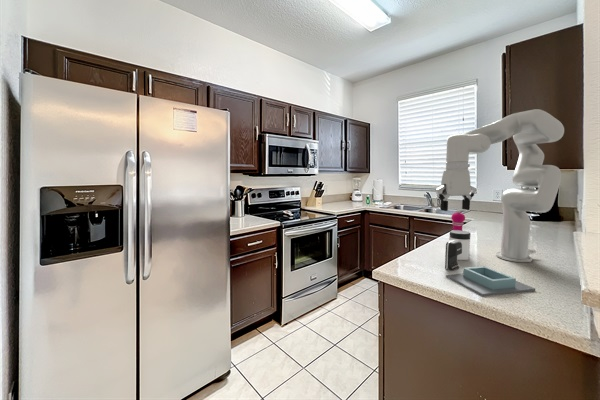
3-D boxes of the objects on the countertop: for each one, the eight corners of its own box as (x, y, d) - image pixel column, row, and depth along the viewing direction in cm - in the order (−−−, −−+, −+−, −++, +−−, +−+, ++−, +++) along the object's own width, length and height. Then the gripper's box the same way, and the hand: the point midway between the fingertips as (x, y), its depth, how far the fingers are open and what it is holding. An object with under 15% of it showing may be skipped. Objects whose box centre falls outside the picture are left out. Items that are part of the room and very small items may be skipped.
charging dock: (491, 272, 101) (492, 263, 101) (535, 290, 86) (536, 279, 85) (446, 276, 98) (446, 267, 98) (482, 296, 82) (483, 284, 82)
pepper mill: (459, 250, 131) (461, 211, 129) (445, 247, 138) (447, 209, 136) (467, 248, 135) (470, 210, 133) (454, 245, 141) (455, 208, 139)
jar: (443, 255, 123) (444, 230, 122) (455, 253, 126) (456, 229, 125) (462, 261, 115) (463, 234, 114) (474, 259, 118) (475, 233, 117)
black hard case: (454, 272, 103) (455, 243, 102) (444, 269, 106) (445, 241, 105) (462, 268, 107) (463, 240, 106) (452, 265, 110) (453, 239, 109)
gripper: (468, 166, 108) (466, 208, 109) (430, 167, 105) (429, 209, 107) (484, 166, 100) (481, 210, 102) (443, 167, 97) (442, 212, 99)
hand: (455, 210), depth 104 cm, fingers open, 9 cm apart
